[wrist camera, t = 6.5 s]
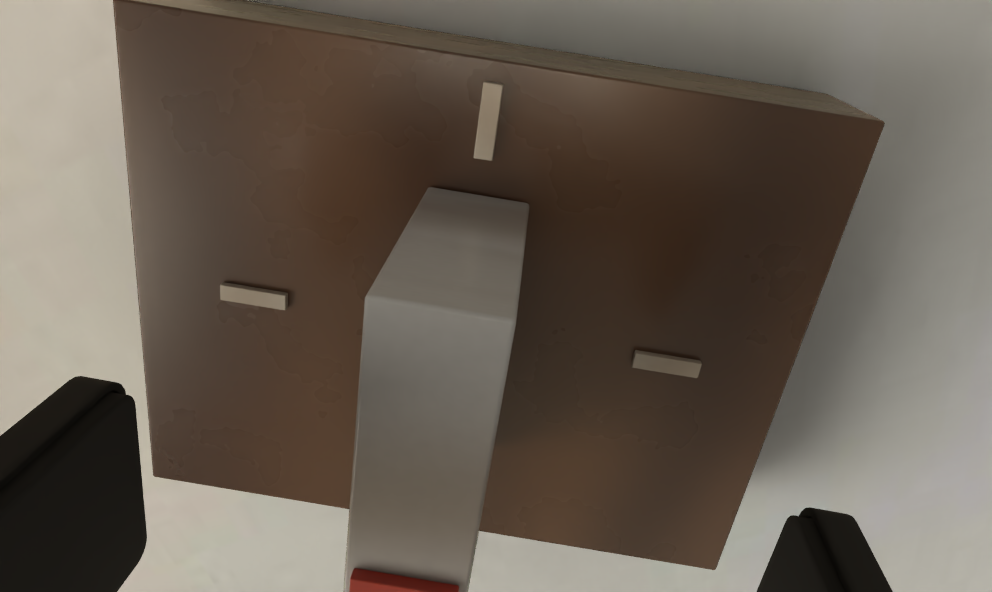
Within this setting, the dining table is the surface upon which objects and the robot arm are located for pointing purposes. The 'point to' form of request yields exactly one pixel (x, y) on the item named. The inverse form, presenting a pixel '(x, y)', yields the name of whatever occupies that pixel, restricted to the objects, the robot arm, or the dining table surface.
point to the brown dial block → (546, 265)
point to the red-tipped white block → (432, 392)
